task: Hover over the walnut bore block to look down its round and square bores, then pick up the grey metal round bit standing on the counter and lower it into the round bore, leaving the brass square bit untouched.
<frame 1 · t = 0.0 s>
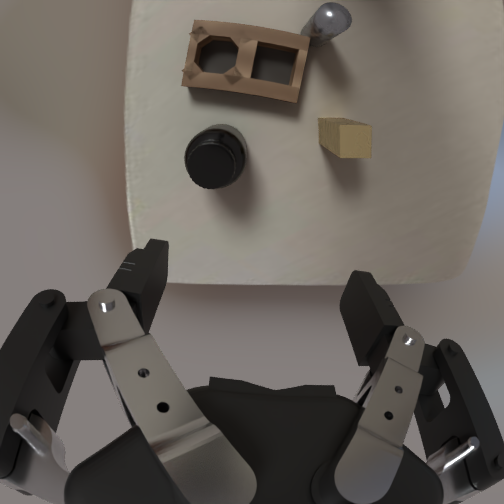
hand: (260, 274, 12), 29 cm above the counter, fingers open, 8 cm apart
bore block: (245, 61, 31), on the counter
round bit: (314, 34, 29), on the counter
square bit: (331, 130, 36), on the counter
supplement bottle: (221, 147, 38), on the counter
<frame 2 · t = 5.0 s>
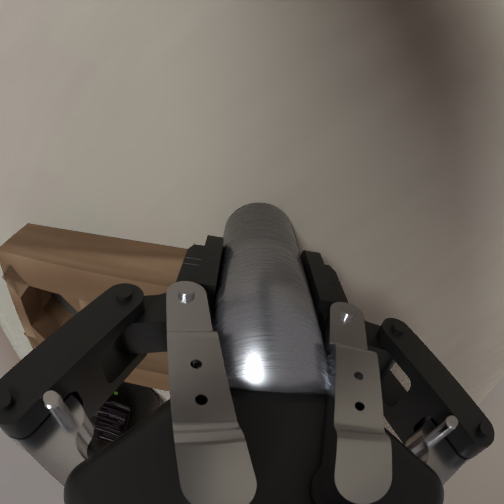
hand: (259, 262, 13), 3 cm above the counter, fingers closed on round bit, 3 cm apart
bore block: (120, 298, 18), on the counter
round bit: (258, 234, 15), on the counter, touching gripper
supplement bottle: (127, 390, 24), on the counter
when the fingers open (4 cm above the counter, at t = 10.0 s): round bit drops 1 cm, resting on bore block.
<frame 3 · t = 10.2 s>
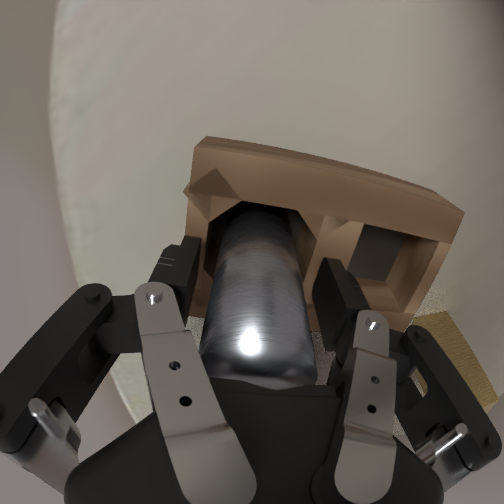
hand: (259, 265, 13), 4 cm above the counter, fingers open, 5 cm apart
bore block: (315, 233, 17), on the counter
round bit: (258, 226, 16), resting on bore block
square bit: (425, 329, 22), on the counter
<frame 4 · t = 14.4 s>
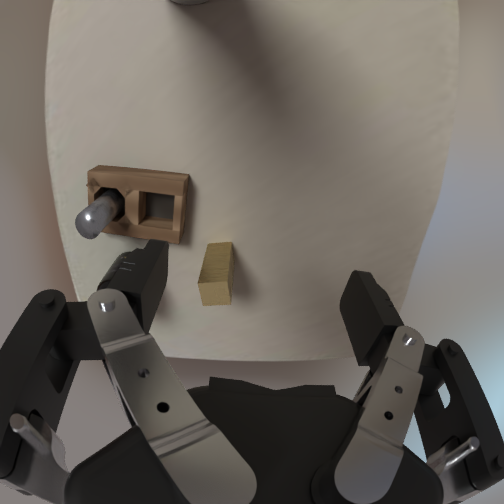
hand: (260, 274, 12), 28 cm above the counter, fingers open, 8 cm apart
bore block: (140, 198, 40), on the counter
round bit: (118, 196, 39), resting on bore block
square bit: (221, 253, 44), on the counter
supplement bottle: (134, 267, 46), on the counter
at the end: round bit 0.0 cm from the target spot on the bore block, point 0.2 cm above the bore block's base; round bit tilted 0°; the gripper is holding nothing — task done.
